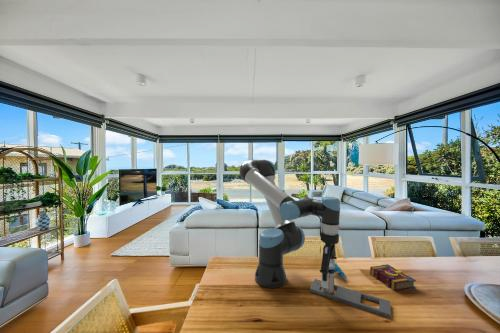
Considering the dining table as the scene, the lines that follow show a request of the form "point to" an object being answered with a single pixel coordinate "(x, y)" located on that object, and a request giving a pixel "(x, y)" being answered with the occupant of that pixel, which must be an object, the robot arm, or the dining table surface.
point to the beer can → (330, 279)
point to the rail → (353, 298)
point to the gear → (339, 270)
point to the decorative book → (392, 277)
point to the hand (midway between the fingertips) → (328, 279)
